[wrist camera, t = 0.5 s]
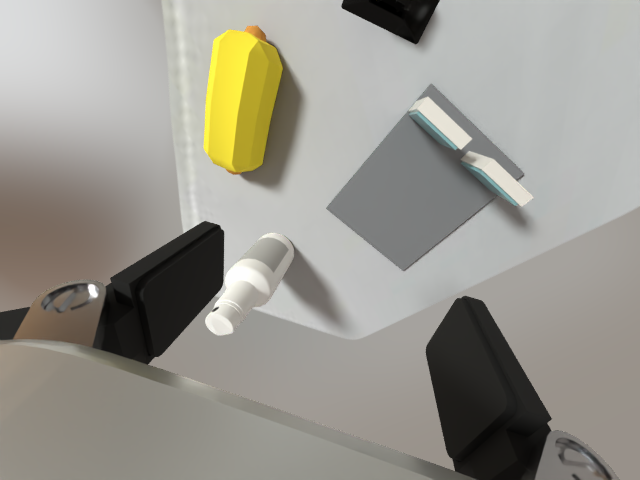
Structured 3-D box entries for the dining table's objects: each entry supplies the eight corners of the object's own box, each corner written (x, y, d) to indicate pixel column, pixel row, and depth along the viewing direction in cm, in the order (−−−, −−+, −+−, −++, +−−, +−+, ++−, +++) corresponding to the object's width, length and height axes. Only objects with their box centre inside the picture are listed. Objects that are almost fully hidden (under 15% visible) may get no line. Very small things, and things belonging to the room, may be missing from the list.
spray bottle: (283, 226, 41) (225, 294, 25) (301, 260, 43) (259, 342, 27) (251, 239, 43) (179, 309, 27) (270, 270, 45) (214, 351, 29)
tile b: (469, 150, 30) (493, 158, 24) (502, 182, 31) (534, 197, 25) (458, 161, 31) (479, 171, 25) (490, 191, 32) (518, 208, 26)
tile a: (416, 101, 29) (427, 96, 23) (452, 134, 30) (472, 138, 24) (406, 113, 30) (414, 111, 24) (441, 145, 31) (458, 152, 24)
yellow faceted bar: (217, 163, 38) (262, 181, 38) (188, 171, 32) (241, 192, 32) (234, 19, 30) (293, 42, 29) (200, -6, 24) (273, 23, 24)
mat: (430, 84, 28) (431, 83, 28) (522, 172, 30) (524, 173, 30) (326, 207, 38) (326, 208, 37) (402, 269, 40) (403, 270, 39)
